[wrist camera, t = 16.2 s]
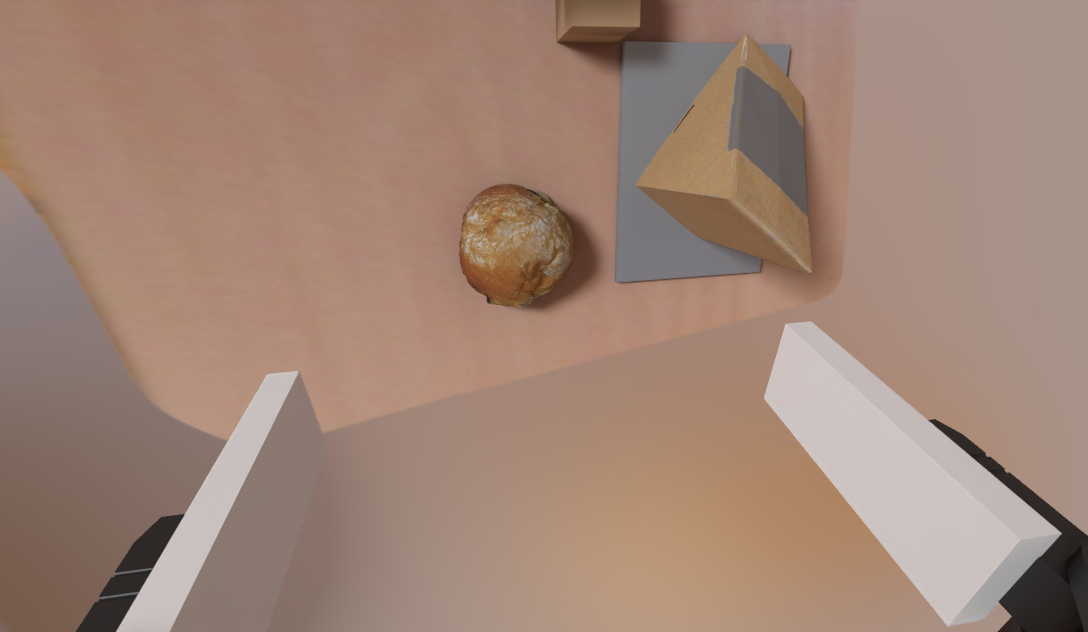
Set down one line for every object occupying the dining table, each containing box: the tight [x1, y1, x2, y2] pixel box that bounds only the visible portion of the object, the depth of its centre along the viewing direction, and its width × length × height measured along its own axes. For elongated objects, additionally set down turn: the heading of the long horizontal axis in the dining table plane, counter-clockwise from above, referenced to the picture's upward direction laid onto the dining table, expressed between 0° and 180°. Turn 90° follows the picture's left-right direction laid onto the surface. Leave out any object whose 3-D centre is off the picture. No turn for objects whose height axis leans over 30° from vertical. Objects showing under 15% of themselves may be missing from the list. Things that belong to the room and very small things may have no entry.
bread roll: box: [459, 184, 575, 308], centre depth 40 cm, size 10×10×8 cm
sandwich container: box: [636, 33, 813, 274], centre depth 35 cm, size 9×15×15 cm, turn 143°
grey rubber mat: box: [615, 41, 791, 282], centre depth 42 cm, size 20×15×1 cm
